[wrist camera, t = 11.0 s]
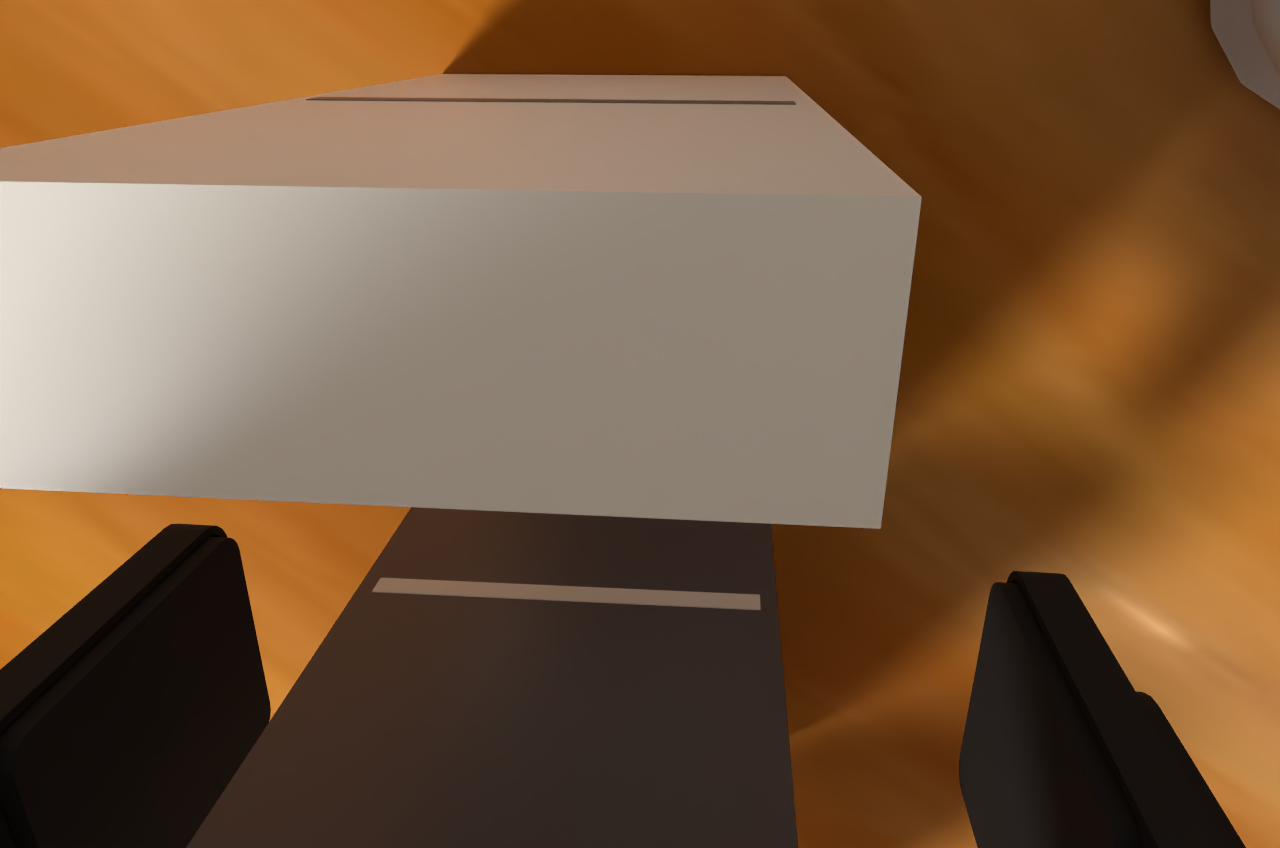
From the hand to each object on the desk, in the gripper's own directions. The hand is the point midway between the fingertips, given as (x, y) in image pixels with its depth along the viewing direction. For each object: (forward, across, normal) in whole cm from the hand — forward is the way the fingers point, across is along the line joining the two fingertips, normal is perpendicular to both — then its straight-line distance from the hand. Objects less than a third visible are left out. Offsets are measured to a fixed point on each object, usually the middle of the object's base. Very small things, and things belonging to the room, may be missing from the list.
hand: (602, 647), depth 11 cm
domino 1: (+5, 0, -6) cm, 7 cm away
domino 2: (+5, 0, 0) cm, 5 cm away
